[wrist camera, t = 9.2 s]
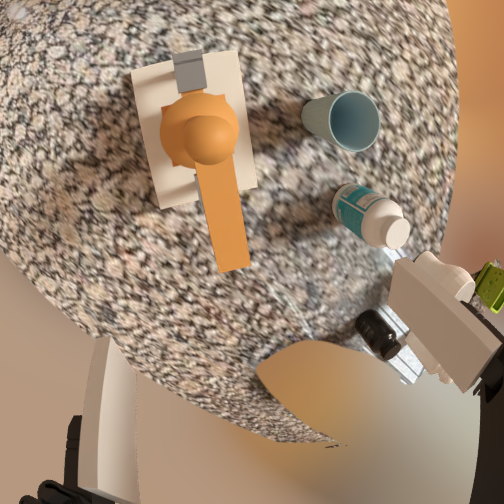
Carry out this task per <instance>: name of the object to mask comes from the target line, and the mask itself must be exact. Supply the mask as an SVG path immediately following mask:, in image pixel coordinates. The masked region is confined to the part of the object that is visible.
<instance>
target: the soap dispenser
mask: <svg viewBox="0 0 504 504" xmlns="http://www.w3.org/2000/svg"><path fill="white" fill-rule="evenodd" d="M404 341H405V342H406V343H407V344H408V346H409V347H410V348H411V350H412V351H413V353H414V354H415V355H416V357H417V358H418V359H419V361H420V362H421V363H422V365H423V366H424V368H425V369H426V370H427V372H428V373H429V374H430V375H431V374H435V373H438V374H439V377H440V381H441V382H443V383H445V384H450V383H452V382H453V380H452V379H451V378H450V376H449V375H448V374H447V373H446V371H445V370H444V369H443V368H442V366H441V365H440V364H439V363H438V362H437V360H436V359H435V358H434V357H433V356H432V354H431V353H430V352H429V351H428V350H427V349H426V347H425V346H424V345H423V344H422V343H421V342H420V340H419V339H418V338H417V337H416V336H415V335H414V333H413V332H412V331H410V332H409V334H408V335H407V337H406V338H405V339H404Z"/></svg>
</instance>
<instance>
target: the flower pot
mask: <svg viewBox="0 0 504 504" xmlns="http://www.w3.org/2000/svg"><path fill="white" fill-rule="evenodd" d="M502 291H503V292H502ZM474 292H475V293H476V294H477V295H479V296H480V298H481V299H482V301H483V302H484V304H485V305H486V306H487V307H488V308H489V309H490V310H491V311H492V312H493V313H495V314H497V313H498V312H499V310H500V309H501V308H502V306H503V304H504V270H502V269H500V268H497V267H494V266H493V264H492V263H491V262H487V263H486V264H485V265H484V267H483V268H482V270H481V272H480V273H479V275H478V277H477V278H476V280H475V289H474Z"/></svg>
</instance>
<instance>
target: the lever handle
mask: <svg viewBox="0 0 504 504" xmlns="http://www.w3.org/2000/svg"><path fill="white" fill-rule="evenodd" d="M181 96H182V98H180V99H178V100H177V101H176V102H174V103H173V104H171V105H167V106H163V107H161V112H162V117H163V119H162V121H161V125H160V141H161V144H162V147H163V149H164V151H165V152H166V154H167V155H168V156H169V157H170V158H171V160H172V165H173V167H175V166H179V165H181V166H183V167H186V168H191V169H195V170H196V175H197V179H198V184H199V189H200V193H201V198H202V202H203V207H204V211H205V216H206V220H207V225H208V229H209V233H210V238H211V242H212V246H213V250H214V254H215V258H216V262H217V265H218V269H219V273H223V272H227V271H231V270H235V269H239V268H243V267H247V266H251V263H250V257H249V251H248V246H247V240H246V234H245V228H244V222H243V216H242V210H241V204H240V198H239V192H238V186H237V180H236V174H235V168H234V162H233V156H232V154H234V147H235V145H236V142H237V139H238V134H239V125H238V120H237V117H236V114H235V112H234V110H233V109H232V108H231V106H230V105H229V104H228V103H227V102H226V99H225V94H221V95H212V94H208V93H204V91H203V89H199V90H194V91H189V92H184V93H181Z"/></svg>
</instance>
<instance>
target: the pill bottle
mask: <svg viewBox="0 0 504 504" xmlns="http://www.w3.org/2000/svg"><path fill="white" fill-rule="evenodd" d="M332 211H333V214H334V216H335V218H336V219H337V220H338V221H339V222H340V223H342V224H343V225H344V226H345V227H347V228H348V229H349V230H351V231H352V232H353V233H355V234H356V235H357V236H359V237H360V238H361V239H363V240H364V241H365V242H366V243H368V244H369V245H370V246H372V247H375V248H383V247H386V246H387V247H388V248H390V249H398V248H400V247H401V246H402V245H403V244H404V243H405V242H406V240H407V238H408V236H409V232H410V225H409V223H408V221H407V220H406V219H404V218H403V214H402V211H401V209H400V207H399V206H398V205H397V204H396V203H395V202H393V201H391V200H390V199H388V198H386V197H384V196H382V195H380V194H378V193H376V192H374V191H372V190H370V189H368V188H366V187H364V186H361V185H359V184H356V183H350V184H346V185H344V186H343V187H341V188H340V189H339V190H338V191H337V193H336V194H335V196H334V199H333V202H332Z"/></svg>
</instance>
